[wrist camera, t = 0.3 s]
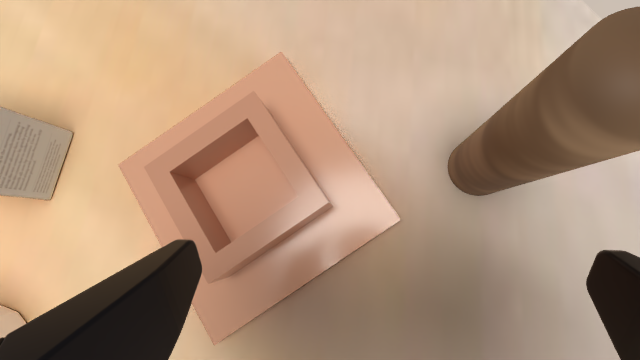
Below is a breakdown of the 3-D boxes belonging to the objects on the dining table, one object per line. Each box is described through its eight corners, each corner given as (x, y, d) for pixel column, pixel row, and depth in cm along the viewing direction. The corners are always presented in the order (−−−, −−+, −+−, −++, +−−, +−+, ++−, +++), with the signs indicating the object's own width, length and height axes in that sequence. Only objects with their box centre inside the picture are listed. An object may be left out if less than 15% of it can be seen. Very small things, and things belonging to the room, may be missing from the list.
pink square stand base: (399, 219, 21) (407, 217, 17) (221, 340, 21) (189, 364, 18) (284, 58, 24) (269, 25, 20) (128, 167, 24) (82, 155, 20)
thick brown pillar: (519, 174, 21) (771, 84, 8) (471, 206, 21) (645, 168, 8) (482, 129, 21) (659, -20, 9) (436, 160, 21) (543, 58, 9)
